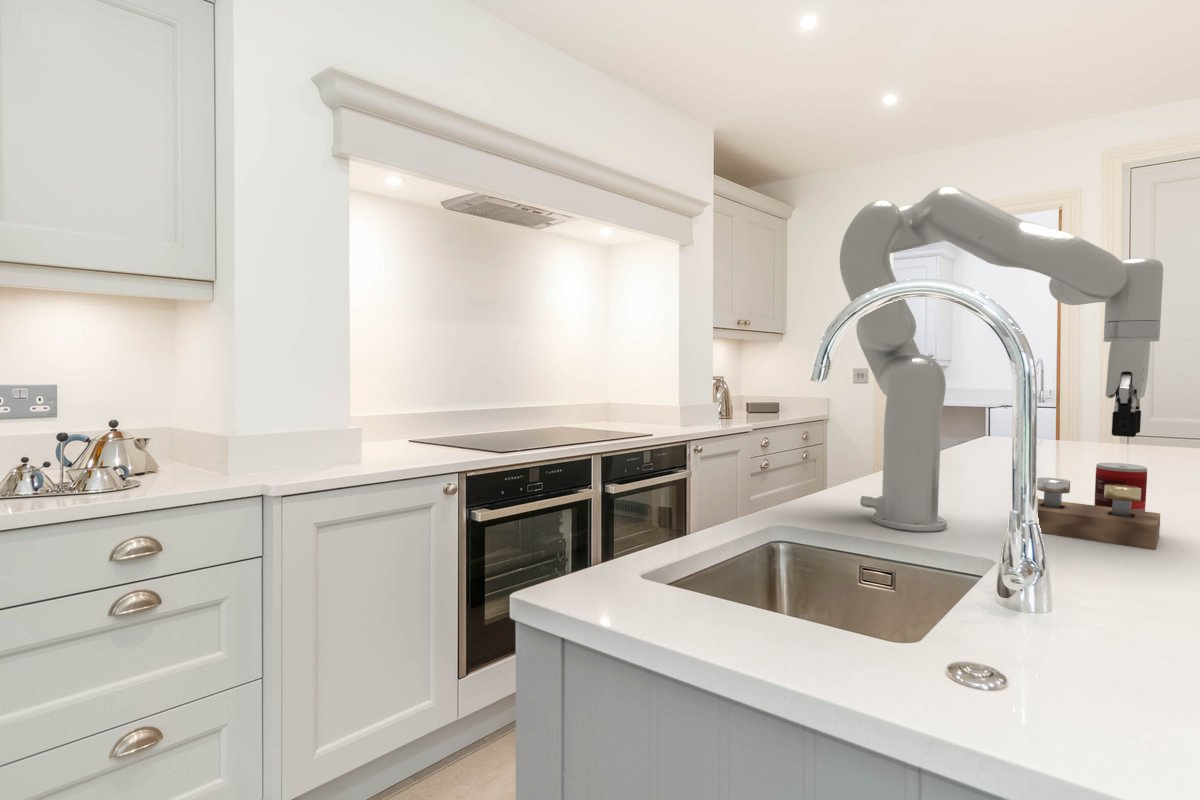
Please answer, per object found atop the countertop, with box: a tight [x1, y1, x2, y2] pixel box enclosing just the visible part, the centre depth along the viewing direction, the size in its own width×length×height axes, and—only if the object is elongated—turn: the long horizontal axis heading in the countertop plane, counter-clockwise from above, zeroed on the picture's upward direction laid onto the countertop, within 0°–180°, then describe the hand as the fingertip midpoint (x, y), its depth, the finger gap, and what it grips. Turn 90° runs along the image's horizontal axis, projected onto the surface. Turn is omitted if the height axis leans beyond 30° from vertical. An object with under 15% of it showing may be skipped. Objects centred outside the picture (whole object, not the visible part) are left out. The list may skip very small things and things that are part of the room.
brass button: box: [1104, 484, 1141, 517], centre depth 116 cm, size 5×5×6 cm
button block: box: [1037, 498, 1161, 550], centre depth 119 cm, size 20×12×4 cm, turn 48°
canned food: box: [1093, 462, 1148, 512], centre depth 126 cm, size 8×8×11 cm
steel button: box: [1036, 477, 1071, 509], centre depth 122 cm, size 5×5×6 cm
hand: (1126, 433), depth 115 cm, fingers open, 8 cm apart
